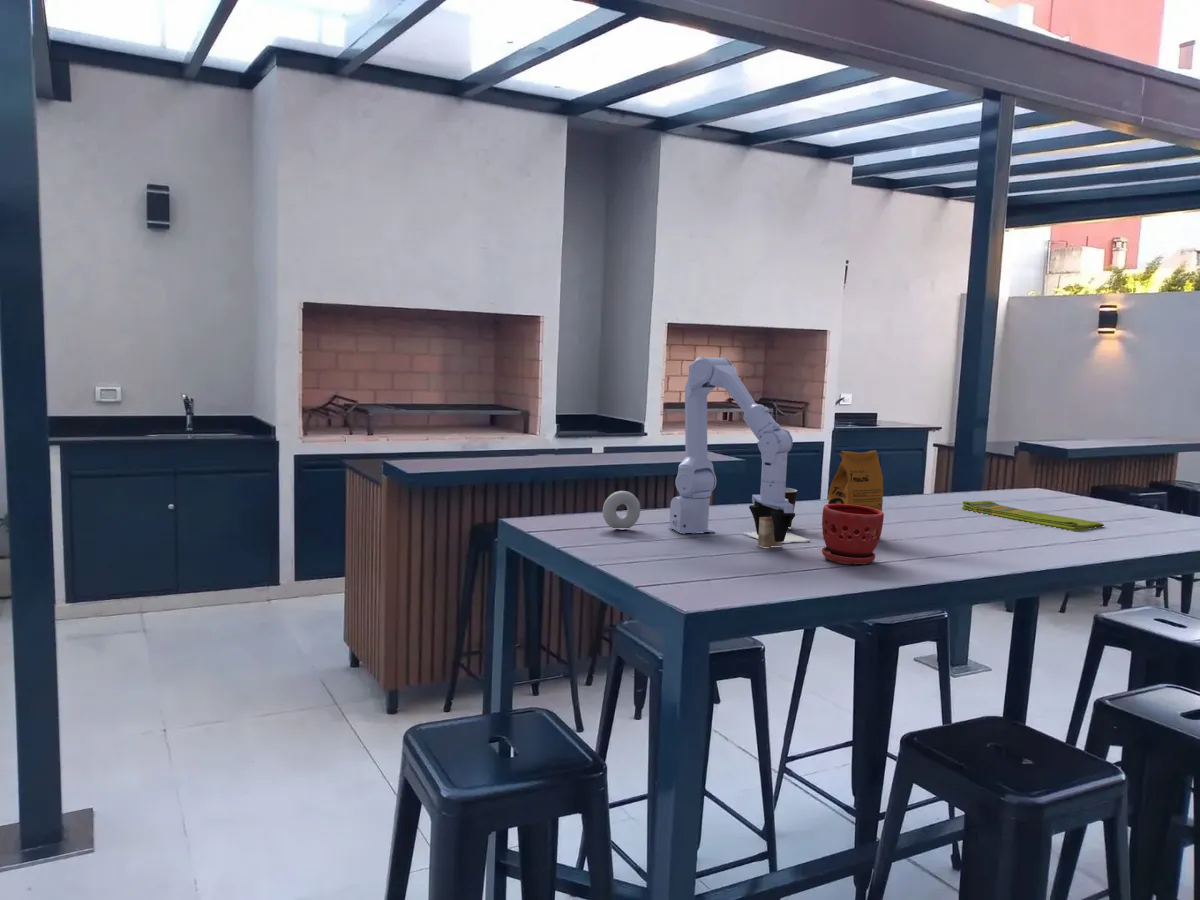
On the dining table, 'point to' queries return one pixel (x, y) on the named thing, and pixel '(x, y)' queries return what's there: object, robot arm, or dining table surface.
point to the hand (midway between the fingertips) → (770, 538)
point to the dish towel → (1029, 516)
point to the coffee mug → (789, 499)
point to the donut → (614, 502)
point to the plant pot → (851, 533)
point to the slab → (767, 533)
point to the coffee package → (858, 481)
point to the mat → (788, 537)
